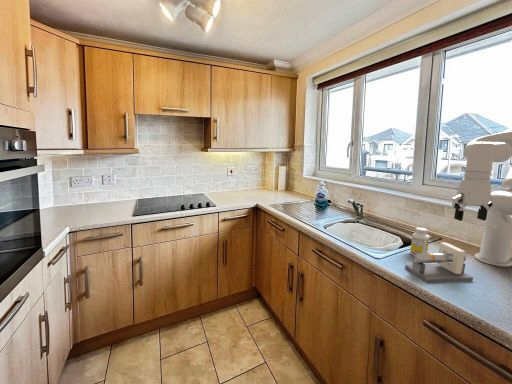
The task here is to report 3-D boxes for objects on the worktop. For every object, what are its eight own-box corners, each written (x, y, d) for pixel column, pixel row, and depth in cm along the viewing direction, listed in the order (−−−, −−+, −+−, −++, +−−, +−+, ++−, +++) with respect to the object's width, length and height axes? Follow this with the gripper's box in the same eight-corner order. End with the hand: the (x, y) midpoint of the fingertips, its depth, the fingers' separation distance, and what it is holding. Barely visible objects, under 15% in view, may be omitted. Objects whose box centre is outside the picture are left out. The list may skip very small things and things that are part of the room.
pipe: (455, 267, 109) (458, 250, 107) (463, 272, 105) (467, 254, 104) (412, 269, 107) (414, 251, 105) (419, 274, 103) (421, 256, 101)
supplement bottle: (420, 252, 128) (424, 226, 125) (429, 258, 121) (434, 231, 119) (406, 252, 127) (410, 226, 125) (415, 258, 121) (419, 231, 119)
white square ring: (442, 263, 111) (445, 242, 109) (461, 273, 102) (465, 251, 100) (436, 263, 110) (440, 242, 109) (455, 273, 102) (459, 251, 100)
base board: (446, 266, 113) (447, 263, 113) (472, 281, 101) (473, 277, 101) (405, 268, 111) (405, 264, 111) (426, 283, 99) (426, 279, 99)
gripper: (489, 174, 105) (481, 216, 108) (447, 174, 103) (441, 217, 107) (508, 177, 97) (499, 222, 101) (464, 177, 96) (456, 222, 99)
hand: (469, 219), depth 104 cm, fingers open, 9 cm apart
